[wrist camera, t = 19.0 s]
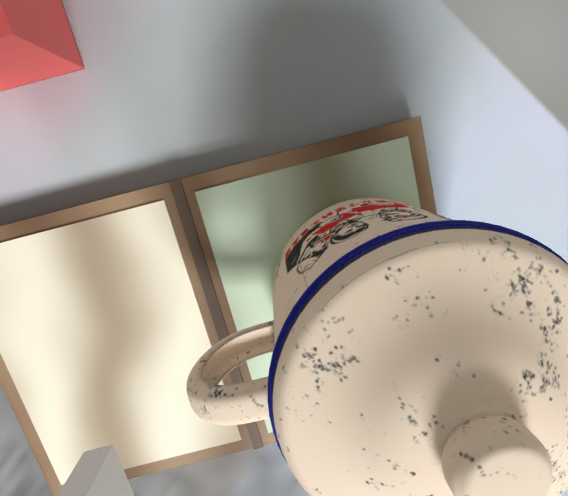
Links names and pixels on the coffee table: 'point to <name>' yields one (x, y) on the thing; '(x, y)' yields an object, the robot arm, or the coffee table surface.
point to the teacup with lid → (406, 357)
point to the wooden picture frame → (168, 296)
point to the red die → (35, 42)
